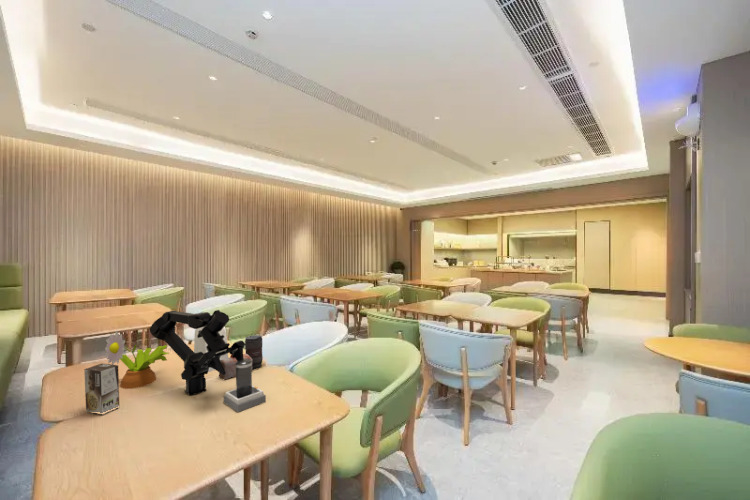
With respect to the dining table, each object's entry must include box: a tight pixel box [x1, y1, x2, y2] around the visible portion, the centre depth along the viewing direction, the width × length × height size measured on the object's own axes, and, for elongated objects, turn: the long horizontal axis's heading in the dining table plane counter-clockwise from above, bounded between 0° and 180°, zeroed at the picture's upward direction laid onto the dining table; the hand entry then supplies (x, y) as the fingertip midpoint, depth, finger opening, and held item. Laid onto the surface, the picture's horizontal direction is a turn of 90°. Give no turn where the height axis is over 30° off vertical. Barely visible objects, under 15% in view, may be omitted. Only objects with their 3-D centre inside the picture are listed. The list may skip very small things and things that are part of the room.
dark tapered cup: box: [235, 359, 253, 399], centre depth 131 cm, size 6×6×13 cm
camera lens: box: [244, 334, 264, 370], centre depth 169 cm, size 8×8×15 cm
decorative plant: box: [104, 330, 170, 390], centre depth 152 cm, size 27×24×25 cm
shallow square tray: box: [223, 384, 267, 413], centre depth 131 cm, size 11×12×4 cm
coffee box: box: [84, 362, 120, 413], centre depth 126 cm, size 9×6×16 cm
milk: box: [193, 313, 229, 373], centre depth 170 cm, size 12×12×26 cm
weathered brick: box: [218, 353, 252, 380], centre depth 159 cm, size 14×8×10 cm, turn 139°
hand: (234, 370), depth 132 cm, fingers open, 9 cm apart
